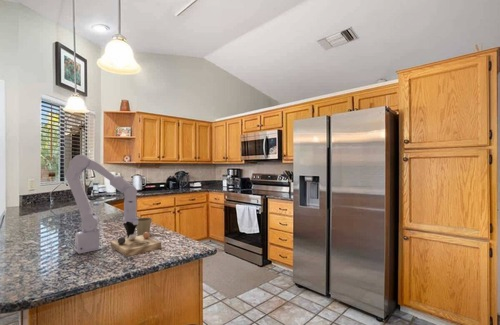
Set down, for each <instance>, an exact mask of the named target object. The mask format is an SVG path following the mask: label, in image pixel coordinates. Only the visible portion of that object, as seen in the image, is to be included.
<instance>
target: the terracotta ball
mask: <svg viewBox="0 0 500 325" xmlns="http://www.w3.org/2000/svg"><path fill="white" fill-rule="evenodd" d="M150 235H151V234H150V233H149V232H145V233H144V234H143V237H144V238H145V239H147V238H149V237H151V236H150Z"/></svg>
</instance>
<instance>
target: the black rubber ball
mask: <svg viewBox="0 0 500 325" xmlns="http://www.w3.org/2000/svg"><path fill="white" fill-rule="evenodd" d="M117 240H118V243H119V244H124V243H125V237H124V236H121V237H119V238H118V239H117Z"/></svg>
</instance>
